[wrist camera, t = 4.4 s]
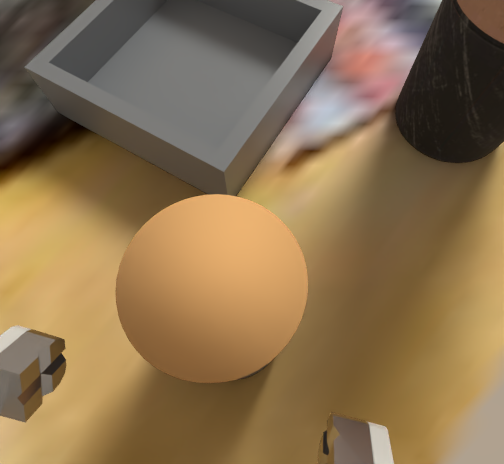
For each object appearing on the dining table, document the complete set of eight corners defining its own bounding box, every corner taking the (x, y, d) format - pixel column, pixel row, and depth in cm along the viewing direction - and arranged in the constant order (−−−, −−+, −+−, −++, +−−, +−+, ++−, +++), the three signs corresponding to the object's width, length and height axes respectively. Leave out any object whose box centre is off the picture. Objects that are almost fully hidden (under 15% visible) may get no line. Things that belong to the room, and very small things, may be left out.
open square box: (58, 112, 26) (24, 66, 22) (175, -9, 30) (164, -64, 26) (229, 205, 23) (224, 171, 19) (331, 57, 27) (343, 6, 23)
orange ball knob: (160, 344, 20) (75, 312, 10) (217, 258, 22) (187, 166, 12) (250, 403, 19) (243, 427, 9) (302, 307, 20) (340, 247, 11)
